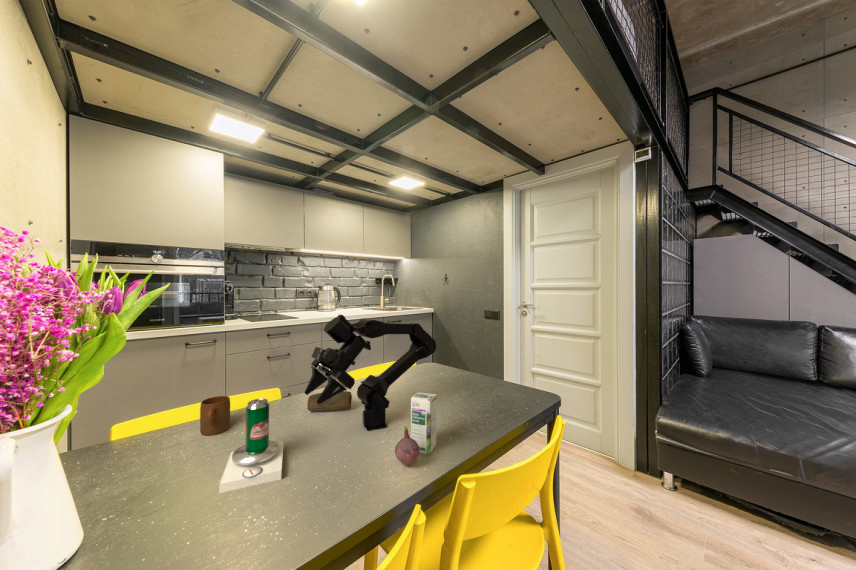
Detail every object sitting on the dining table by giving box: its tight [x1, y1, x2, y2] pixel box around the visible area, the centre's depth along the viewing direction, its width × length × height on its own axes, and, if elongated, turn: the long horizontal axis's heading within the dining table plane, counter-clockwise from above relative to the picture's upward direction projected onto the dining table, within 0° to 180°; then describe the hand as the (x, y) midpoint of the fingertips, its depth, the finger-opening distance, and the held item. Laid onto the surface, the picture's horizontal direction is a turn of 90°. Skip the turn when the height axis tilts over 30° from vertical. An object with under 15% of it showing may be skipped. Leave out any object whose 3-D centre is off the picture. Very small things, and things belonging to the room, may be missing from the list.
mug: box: [199, 395, 231, 436], centre depth 92 cm, size 12×8×9 cm, turn 25°
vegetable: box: [394, 425, 420, 467], centre depth 76 cm, size 6×6×10 cm
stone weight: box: [306, 390, 353, 413], centre depth 110 cm, size 15×7×7 cm, turn 102°
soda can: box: [245, 397, 270, 454], centre depth 76 cm, size 5×5×12 cm
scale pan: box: [232, 439, 279, 465], centre depth 75 cm, size 10×10×2 cm
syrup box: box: [410, 391, 437, 456], centre depth 84 cm, size 6×6×14 cm
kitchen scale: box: [218, 441, 284, 494], centre depth 74 cm, size 12×14×2 cm
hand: (311, 398), depth 84 cm, fingers open, 9 cm apart
